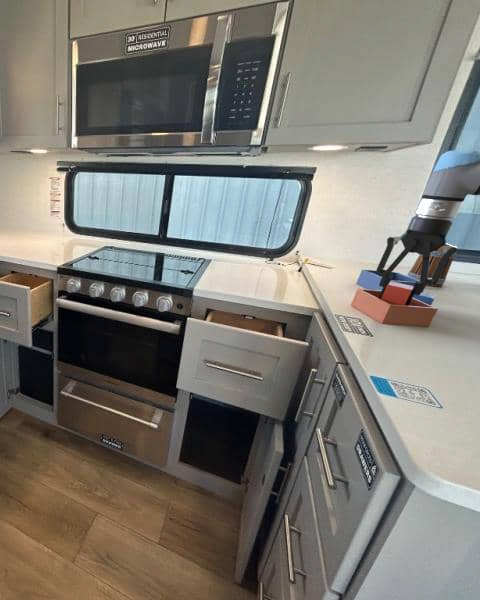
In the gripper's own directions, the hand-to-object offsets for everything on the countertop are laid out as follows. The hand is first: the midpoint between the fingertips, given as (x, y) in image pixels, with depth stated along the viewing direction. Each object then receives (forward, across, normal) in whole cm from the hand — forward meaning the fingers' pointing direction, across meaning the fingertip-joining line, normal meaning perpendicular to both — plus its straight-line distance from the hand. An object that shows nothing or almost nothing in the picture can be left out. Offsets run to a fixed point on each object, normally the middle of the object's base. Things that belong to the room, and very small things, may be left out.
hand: (393, 301), depth 93 cm
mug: (+5, +4, +60) cm, 60 cm away
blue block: (+5, +5, +15) cm, 16 cm away
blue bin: (+5, -4, +29) cm, 30 cm away
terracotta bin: (+5, 0, 0) cm, 5 cm away
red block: (0, 0, 0) cm, 0 cm away
